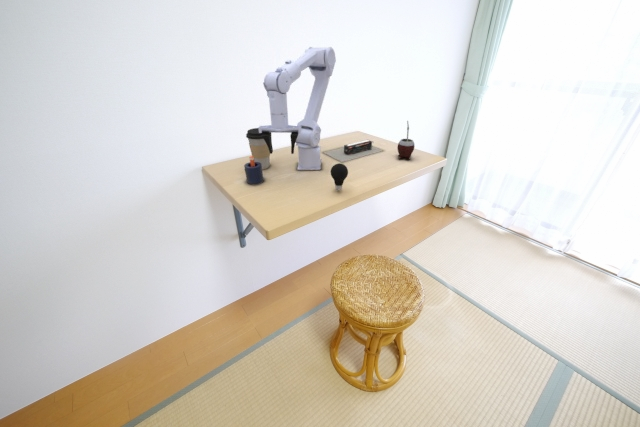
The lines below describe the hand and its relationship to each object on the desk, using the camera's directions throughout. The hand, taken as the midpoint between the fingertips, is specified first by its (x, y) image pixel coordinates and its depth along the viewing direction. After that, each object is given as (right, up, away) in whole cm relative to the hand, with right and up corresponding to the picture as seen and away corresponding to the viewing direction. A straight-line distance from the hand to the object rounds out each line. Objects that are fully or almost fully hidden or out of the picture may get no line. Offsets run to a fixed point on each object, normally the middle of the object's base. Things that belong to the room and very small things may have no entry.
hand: (282, 152), depth 93 cm
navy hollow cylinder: (-11, -10, +4) cm, 15 cm away
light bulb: (+20, -14, -3) cm, 25 cm away
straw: (-11, -9, +4) cm, 15 cm away
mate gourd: (+52, +3, +24) cm, 57 cm away
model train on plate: (+30, +8, +31) cm, 43 cm away
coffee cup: (-11, -2, +16) cm, 20 cm away
